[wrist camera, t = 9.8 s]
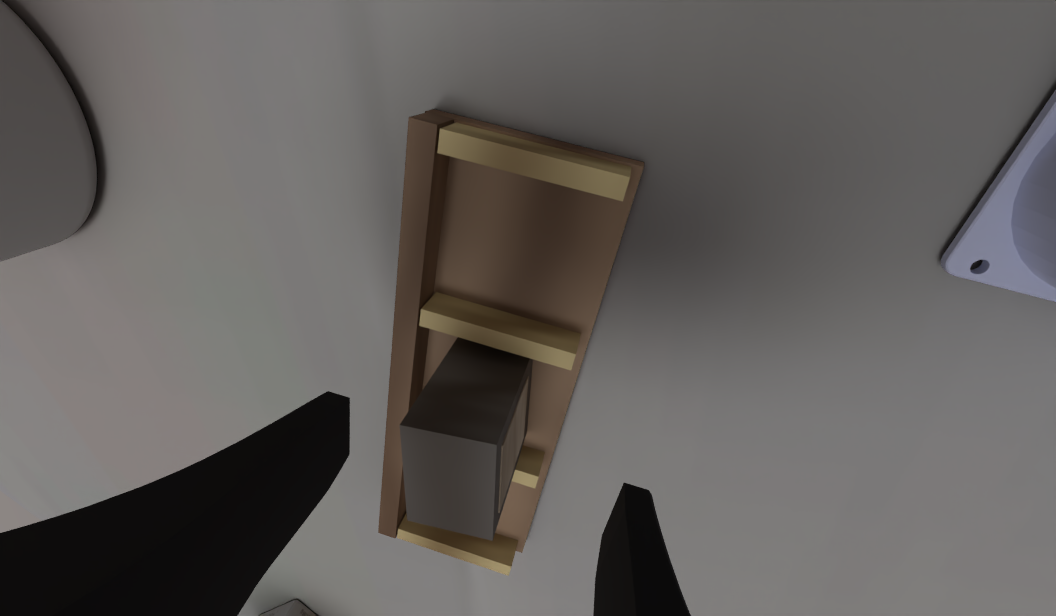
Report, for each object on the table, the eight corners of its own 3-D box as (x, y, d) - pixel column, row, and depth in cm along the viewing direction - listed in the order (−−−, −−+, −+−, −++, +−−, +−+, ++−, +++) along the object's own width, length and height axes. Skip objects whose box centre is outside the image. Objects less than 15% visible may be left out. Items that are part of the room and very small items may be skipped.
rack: (644, 162, 18) (643, 177, 15) (525, 540, 28) (515, 579, 26) (433, 109, 18) (405, 116, 16) (396, 497, 29) (376, 532, 27)
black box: (534, 348, 21) (498, 445, 16) (528, 432, 23) (493, 541, 18) (457, 335, 22) (398, 424, 17) (458, 418, 24) (405, 520, 19)
